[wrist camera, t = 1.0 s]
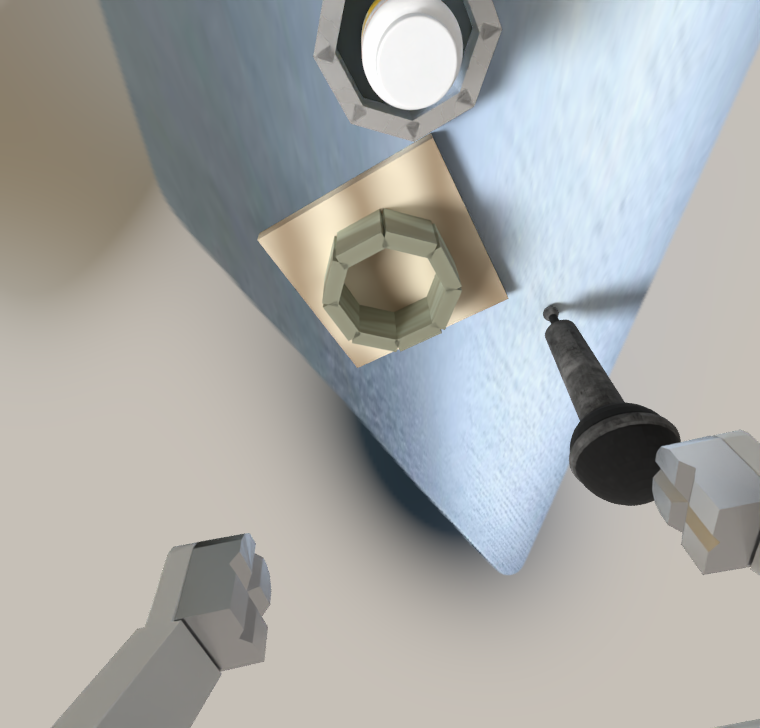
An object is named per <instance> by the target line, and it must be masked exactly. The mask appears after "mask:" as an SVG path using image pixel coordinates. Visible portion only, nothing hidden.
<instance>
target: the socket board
mask: <svg viewBox="0 0 760 728" xmlns="http://www.w3.org/2000/svg"><path fill="white" fill-rule="evenodd" d="M258 241H259V243H260V244H261V245H262V246H263V248H264V249H265V250H266V252H267V253H268V254H269V255H270V257H271V258H272V259H273V260H274V262H275V263H276V264H277V266H278V267H279V268H280V269H281V271H282V272H283V273H284V275H285V276H286V277H287V278H288V280H289V281H290V282H291V283H292V285H293V286H294V287H295V289H296V290H297V291H298V292H299V294H300V295H301V296H302V298H303V299H304V300H305V301H306V303H307V304H308V305H309V307H310V308H311V309H312V310H313V312H314V313H315V314H316V315H317V317H318V318H319V319H320V321H321V322H322V323H323V324H324V326H325V327H326V328H327V330H328V331H329V332H330V333H331V335H332V336H333V337H334V338H335V340H336V341H337V342H338V344H339V345H340V346H341V347H342V349H343V350H344V351H345V353H346V354H347V355H348V356H349V358H350V359H351V360H352V361H353V363H354V364H355V365H356V367H357V368H358V367H361V366H363V365H365V364H367V363H369V362H371V361H374V360H376V359H378V358H380V357H382V356H384V355H387V354H389V353H391V352H393V351H394V352H396V351H397V350H398V349H399V350H400V351H403V350H405V349H407V348H410V347H412V346H414V345H416V344H418V343H421V342H423V341H425V340H427V339H429V338H431V337H434V336H436V335H438V334H440V333H442V332H441V329H444V330H445V328H446V327H448V326H450V325H452V324H454V323H456V322H459V321H461V320H463V319H465V318H467V317H469V316H472V315H474V314H476V313H478V312H480V311H483V310H485V309H487V308H489V307H491V306H493V305H496V304H498V303H500V302H502V301H504V300H506V299H508V297H507V294H506V292H505V290H504V288H503V285H502V283H501V281H500V279H499V277H498V275H497V273H496V271H495V268H494V266H493V264H492V262H491V260H490V258H489V256H488V254H487V251H486V249H485V247H484V245H483V243H482V241H481V239H480V237H479V234H478V232H477V230H476V228H475V226H474V224H473V222H472V220H471V217H470V215H469V213H468V211H467V209H466V207H465V205H464V203H463V200H462V198H461V196H460V194H459V192H458V190H457V188H456V186H455V183H454V181H453V179H452V177H451V175H450V173H449V171H448V169H447V166H446V164H445V162H444V160H443V158H442V156H441V154H440V152H439V149H438V147H437V145H436V143H435V141H434V139H433V137H432V135H431V133H430V134H428V135H426V136H425V137H423V138H421V139H420V140H418V141H416V142H414V143H413V144H411V145H409V146H408V147H406V148H404V149H403V150H401V151H399V152H397V153H396V154H394V155H392V156H391V157H389V158H387V159H385V160H384V161H382V162H380V163H379V164H377V165H375V166H374V167H372V168H370V169H368V170H367V171H365V172H363V173H362V174H360V175H358V176H356V177H355V178H353V179H351V180H350V181H348V182H346V183H345V184H343V185H341V186H339V187H338V188H336V189H334V190H333V191H331V192H329V193H327V194H326V195H324V196H322V197H321V198H319V199H317V200H316V201H314V202H312V203H310V204H309V205H307V206H305V207H304V208H302V209H300V210H298V211H297V212H295V213H293V214H292V215H290V216H288V217H287V218H285V219H283V220H281V221H280V222H278V223H276V224H275V225H273V226H271V227H270V228H268V229H266V230H264V231H263V232H261V233H260V234H259V237H258Z"/></svg>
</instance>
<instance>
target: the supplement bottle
mask: <svg viewBox="0 0 760 728" xmlns="http://www.w3.org/2000/svg"><path fill="white" fill-rule="evenodd" d="M361 46H362V62H363V68H364V71H365V74H366V77H367V79H368V81H369V83H370V85H371V87H372V88H373V90H374V91H375V92H376V94H377V95H378V96H379V97H380V98H381V99H382V100H384V101H385V102H386V103H388V104H390V105H392V106H394V107H396V108H400V109H404V110H418V109H422V108H425V107H428V106H431V105H433V104H435V103H436V102H438V101H439V100H440V99H441V98H442V97H443V96H444V95H445V94H446V93H447V92H448V90H449V89H450V88H451V86H452V85H453V83H454V81H455V80H456V78H457V76H458V73H459V70H460V67H461V63H462V56H463V41H462V35H461V31H460V27H459V25H458V22H457V20H456V18H455V16H454V15H453V13H452V12H451V10H450V9H449V8H448V7H447V6H446V5H445V4H444V3H443V2H442V1H441V0H375V1H374V2H373V3H372V5H371V6H370V8H369V10H368V12H367V14H366V16H365V19H364V22H363V26H362V34H361Z"/></svg>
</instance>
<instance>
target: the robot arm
mask: <svg viewBox="0 0 760 728" xmlns="http://www.w3.org/2000/svg"><path fill="white" fill-rule="evenodd" d="M655 461H656V463H657V464H658V465H659V467H660V468H661V469H660V470H659V472H658V473H657V474H656V475H655V476H654V477H653V484H652V492H653V496H654V500H655V504H656V506H657V508H658V510H659V512H660V514H661V516H662V517H663V518H664V520H665V521H666V523H667V524H668V525H669V526H671V527H673V528H675V529H677V530H679V531H680V532H682V533H683V535H682V543H681V545H682V546H683V547H684V549H685V550H686V552H687V553H688V554H689V556H690V557H691V559H692V560H693V561H694V563H695V564H696V566H697V567H698V568H699V570H700V571H701V572H702V574H703V575H704V574H711V573H717V572H722V571H728V570H734V569H740V568H746V567H751V568H750V569H751V570H752V571H754V572H755V573H757V574H758V575H760V443H759V442H758V441H757V440H756V439H755V438H753V436H751V435H750V434H749V433H747V432H745V431H743V430H738V431H732V432H728V433H723V434H718V435H714V436H707V437H702V438H698V439H693V440H689V441H685V442H680V443H675V444H670V445H666V446H661V447H660V448H659V450H658V451H657V454H656V460H655ZM255 545H256V543H255V542H254V540H253V538H252V537H251V535H250V534H249V533H248V534H240V535H234V536H229V537H224V538H217V539H212V540H206V541H201V542H197V543H192V544H186V545H181V546H175V547H173V548H172V549H171V551H170V552H169V553H168V555H167V557H166V560H165V564H164V567H163V570H162V573H161V576H160V580H159V583H158V586H157V589H156V593H155V596H154V599H153V602H152V605H151V608H150V612H149V615H148V618H147V621H146V624H145V627H143V628H139V629H137V630H136V631H135V632H134V633H133V634H132V635H131V636H130V638H129V639H128V640H127V641H126V642H125V643H124V645H123V646H122V647H121V648H120V649H119V650H118V651H117V653H116V654H115V655H114V656H113V657H112V658H111V659H110V661H109V662H108V663H107V664H106V665H105V666H104V667H103V669H102V670H101V671H100V672H99V673H98V675H96V677H95V678H94V679H93V680H92V681H91V682H90V684H89V685H88V686H87V687H86V688H85V689H84V690H83V691H82V693H81V694H80V695H79V696H78V697H77V698H76V700H75V701H74V702H73V703H72V704H71V705H70V706H69V708H68V709H67V710H66V711H65V712H64V713H63V714H62V716H61V717H60V718H59V719H58V720H57V721H56V722H55V724H54V725H53V726H52V727H51V728H190V727H191V726H192V724H193V722H194V720H195V719H196V717H197V715H198V714H199V712H200V710H201V709H202V707H203V705H204V703H205V702H206V700H207V698H208V697H209V695H210V693H211V691H212V690H213V688H214V686H215V685H216V683H217V681H218V679H219V678H220V676H221V671H225V670H229V669H233V668H238V667H242V666H247V665H251V664H255V663H260V662H264V658H265V648H266V639H267V630H268V627H267V625H266V623H265V621H264V620H263V618H262V616H263V614H264V613H265V611H266V610H267V608H268V607H269V606H270V599H271V583H270V575H269V571H268V567H267V565H266V563H265V560H264V559H263V557H261V556H259V555H257V554H255V553H254V552H255ZM715 728H760V719H757V720H752V721H746V722H741V723H736V724H730V725H725V726H720V727H715Z"/></svg>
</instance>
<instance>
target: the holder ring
mask: <svg viewBox="0 0 760 728" xmlns="http://www.w3.org/2000/svg"><path fill="white" fill-rule="evenodd" d="M463 3H464V6H465V8H466V11H467V14H468V16H469V19H470V22H471V24H472V30H471V33H470V36H469V39H468V42H467V45H466V48H465V52H464V55H463V58H462V63H461V67H460V70H459V73H458V76H457V78H456V80H455V82H454V84H453V85H452V86H451V88H450V89H449V90H448V92H447V93H446V94H445V95H444V96H443V97H442V98H441V99H440V100H439V101H438V102H436V103H435V104H433V105H431V106H428V107H425V108H422V109H418V110H411V111H407V110H404V109H400V108H396V107H394V106H391V105H387V104H384V103H381V102H377V101H374V100H371V99H367V98H364V97H362V95H361V93H360V91H359V89H358V87H357V85H356V84H355V82H354V80H353V78H352V76H351V74H350V72H349V70H348V68H347V67H346V65H345V63H344V61H343V59H342V57H341V55H340V53H339V51H338V50H337V48H336V45H337V40H338V35H339V30H340V25H341V19H342V14H343V9H344V4H345V0H323V3H322V9H321V15H320V21H319V27H318V33H317V38H316V44H315V50H314V56H313V57H314V59H315V60H316V62H317V64H318V66H319V68H320V69H321V71H322V73H323V75H324V76H325V78H326V80H327V82H328V84H329V85H330V87H331V89H332V91H333V93H334V94H335V96H336V98H337V100H338V101H339V103H340V105H341V107H342V109H343V110H344V112H345V114H346V116H347V117H348V119H349V121H350V123H351V124H354V125H358V126H361V127H365V128H368V129H371V130H375V131H378V132H382V133H385V134H389V135H392V136H396V137H399V138H403V139H406V140H410V141H413V142H415V141H416V140H418V139H420V138H421V137H423V136H425V135H426V134H428V133H430V132H432V131H433V130H435V129H437V128H438V127H440V126H442V125H443V124H445V123H447V122H449V121H450V120H452V119H454V118H455V117H457V116H459V115H461V114H462V113H464V112H466V111H467V110H469V109H471V108H472V107H474V105H475V103H476V100H477V97H478V94H479V92H480V89H481V86H482V83H483V80H484V78H485V75H486V72H487V69H488V67H489V64H490V61H491V58H492V56H493V53H494V50H495V47H496V45H497V42H498V39H499V36H500V34H501V31H502V28H501V25H500V22H499V19H498V16H497V13H496V10H495V7H494V4H493V1H492V0H463Z"/></svg>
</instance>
